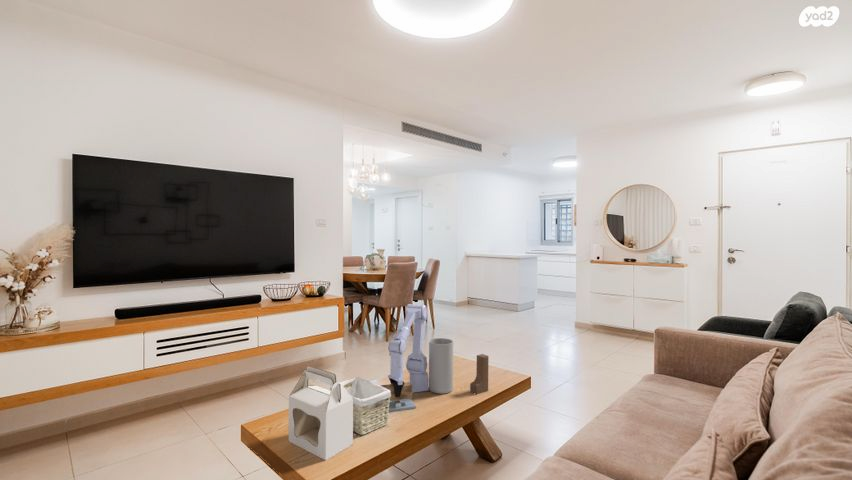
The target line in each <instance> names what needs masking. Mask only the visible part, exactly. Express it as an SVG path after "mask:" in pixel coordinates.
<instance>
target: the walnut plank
mask: <svg viewBox="0 0 852 480" xmlns="http://www.w3.org/2000/svg"><path fill="white" fill-rule="evenodd" d="M380 386H382V387H384V388H386V389H388V390H390V392H391V397H390V401H393V400H403V399H412V398H413V393H412V385H411V383H410V381H408V382H404V386H403V388H402V391H401V395H400V397H395V392H394V387H393V384H391V383H390V384H382V385H380Z"/></svg>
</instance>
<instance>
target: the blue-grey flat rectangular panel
mask: <svg viewBox="0 0 852 480" xmlns="http://www.w3.org/2000/svg"><path fill="white" fill-rule="evenodd" d="M399 401H400V402H401V407H399V408H395V406H394V404H393V402H392V401H390V403H389V412H388V413H392V412H393V413H394V412H399V411H400V412H401V411H408V410H414V409H416V408H417V406H416V405H415V403H414V402H413V400H412V398H408V399H400V400H399Z"/></svg>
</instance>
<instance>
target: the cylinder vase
mask: <svg viewBox="0 0 852 480" xmlns="http://www.w3.org/2000/svg"><path fill="white" fill-rule="evenodd" d="M428 389H429V391H430V392H432V393H434V394H441V395H444V394H449V393H451V392H452V391H453V390H454V340H453V339H450V338H444V337H443V338H441V337H440V338H432V339H429V341H428Z"/></svg>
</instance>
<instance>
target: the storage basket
mask: <svg viewBox="0 0 852 480" xmlns="http://www.w3.org/2000/svg"><path fill="white" fill-rule="evenodd" d="M339 382H340V383H341V384H342V385H343V387H344V388H345V389H346V388H349V389H348V390H346V391H347V392H348V393H349V395H350V396H351V397H352V399H353V433H354V432H355V433H356V434H358V435H360V436H363V435H366V434H369V433H370V432H371V433H372V432H374V430H375V431H376V430H378V429H379V428H382V427H383V426H386V425H387V424H388V420H389V413H390V412H389V403H390V397H391V392H390V390H388V389H386V388H384V387H382V386H381V385H379V384H376V383H374V382H371V381H369V380H367V379H364V378H361V377H360V376H357V377H354V378H350V379H346V380H343V381H339ZM331 389H332V386H331V385H329V390H330V391H331ZM339 403H340V402H339Z"/></svg>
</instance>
